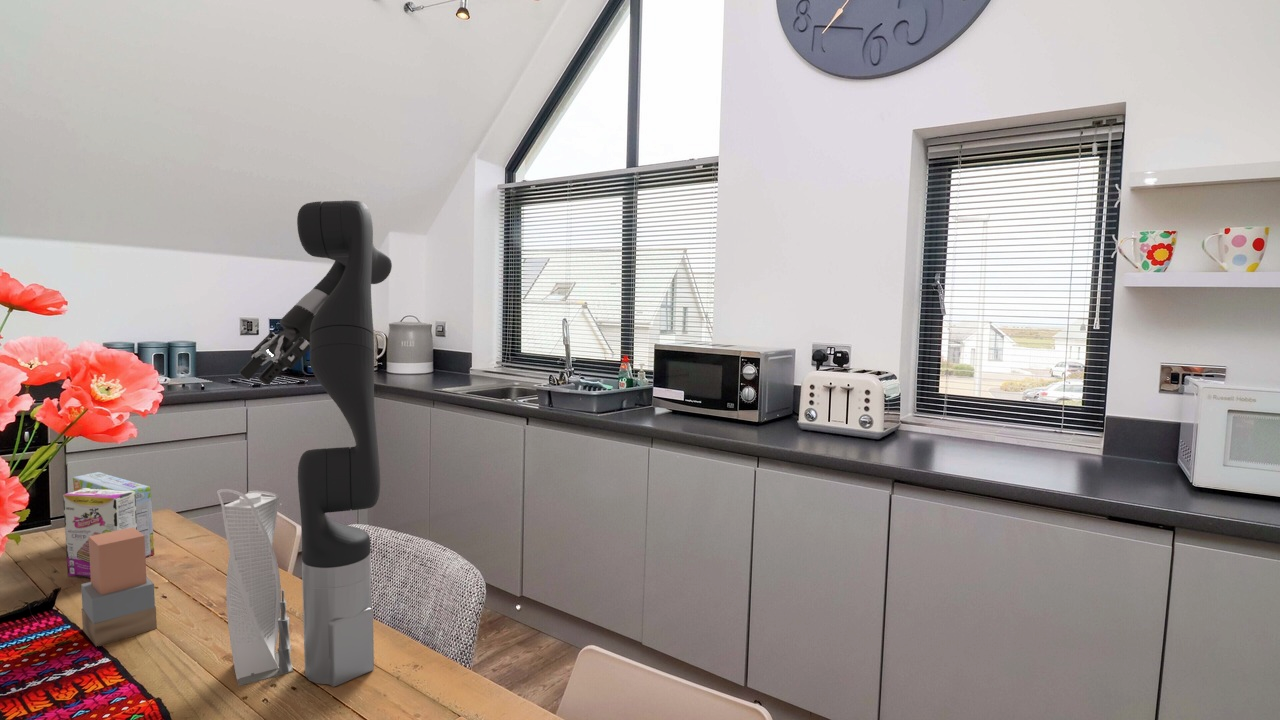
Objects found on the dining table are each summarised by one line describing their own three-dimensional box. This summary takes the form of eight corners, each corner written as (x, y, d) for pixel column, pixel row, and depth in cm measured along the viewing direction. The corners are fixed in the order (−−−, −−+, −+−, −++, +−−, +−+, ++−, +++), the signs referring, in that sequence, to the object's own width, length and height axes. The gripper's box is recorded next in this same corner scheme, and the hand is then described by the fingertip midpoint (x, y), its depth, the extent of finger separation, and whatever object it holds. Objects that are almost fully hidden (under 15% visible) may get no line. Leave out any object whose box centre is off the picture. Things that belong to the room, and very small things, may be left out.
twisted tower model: (226, 691, 96) (219, 496, 93) (221, 666, 102) (214, 483, 100) (293, 673, 101) (288, 487, 98) (284, 649, 107) (279, 475, 105)
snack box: (74, 544, 148) (70, 476, 147) (104, 536, 153) (101, 470, 152) (126, 564, 138) (123, 491, 137) (157, 555, 143) (153, 484, 142)
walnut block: (156, 630, 112) (155, 606, 112) (96, 648, 106) (95, 624, 106) (141, 615, 118) (140, 592, 117) (82, 632, 111) (81, 608, 111)
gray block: (154, 607, 112) (153, 583, 112) (93, 624, 106) (92, 599, 106) (141, 592, 117) (140, 570, 117) (82, 607, 111) (81, 584, 111)
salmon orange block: (146, 583, 112) (144, 535, 111) (101, 595, 107) (98, 545, 106) (135, 573, 116) (133, 527, 115) (91, 584, 111) (88, 536, 110)
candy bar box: (65, 577, 131) (60, 494, 130) (88, 567, 136) (84, 487, 134) (119, 581, 130) (114, 497, 128) (140, 571, 135) (136, 489, 133)
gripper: (281, 302, 138) (221, 362, 131) (315, 305, 129) (253, 370, 122) (308, 327, 143) (251, 387, 135) (342, 332, 134) (284, 396, 127)
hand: (252, 379), depth 129 cm, fingers open, 8 cm apart
